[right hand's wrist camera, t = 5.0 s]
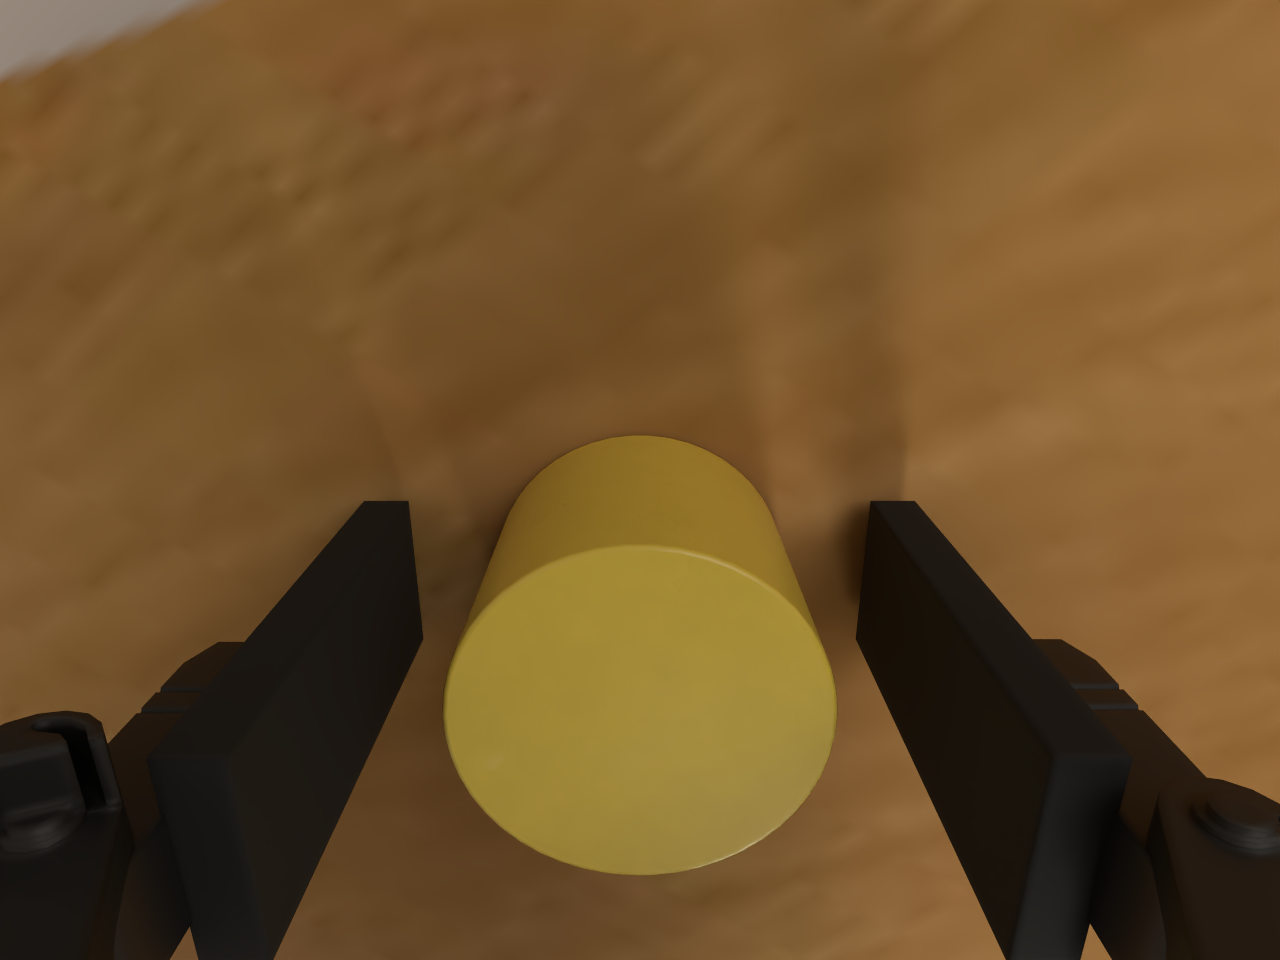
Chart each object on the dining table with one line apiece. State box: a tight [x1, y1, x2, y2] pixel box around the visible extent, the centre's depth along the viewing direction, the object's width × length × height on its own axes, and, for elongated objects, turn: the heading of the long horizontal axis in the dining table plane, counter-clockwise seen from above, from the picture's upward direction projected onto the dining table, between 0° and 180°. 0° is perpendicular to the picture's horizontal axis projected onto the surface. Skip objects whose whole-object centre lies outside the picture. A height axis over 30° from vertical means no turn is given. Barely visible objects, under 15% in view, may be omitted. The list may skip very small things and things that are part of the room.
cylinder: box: [442, 436, 837, 875], centre depth 12 cm, size 5×5×4 cm
